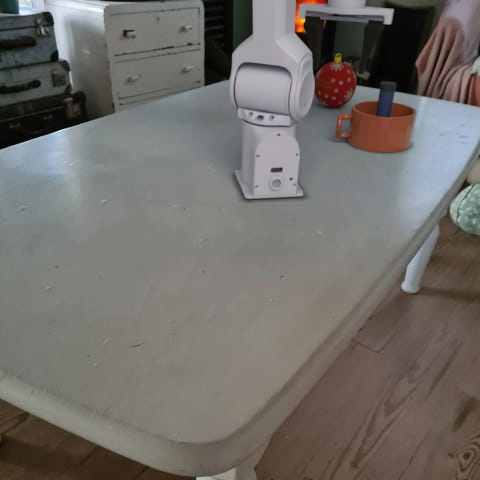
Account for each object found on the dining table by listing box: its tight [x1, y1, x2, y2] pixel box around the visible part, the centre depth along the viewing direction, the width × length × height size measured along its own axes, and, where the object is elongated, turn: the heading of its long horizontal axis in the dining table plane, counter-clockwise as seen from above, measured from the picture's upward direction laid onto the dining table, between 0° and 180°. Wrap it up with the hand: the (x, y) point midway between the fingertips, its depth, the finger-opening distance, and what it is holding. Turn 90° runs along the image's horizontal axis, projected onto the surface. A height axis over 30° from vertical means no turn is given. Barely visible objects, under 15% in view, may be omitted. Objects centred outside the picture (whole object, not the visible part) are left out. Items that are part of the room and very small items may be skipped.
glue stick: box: [376, 80, 397, 117], centre depth 86 cm, size 2×2×9 cm
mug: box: [334, 100, 418, 153], centre depth 87 cm, size 13×10×6 cm
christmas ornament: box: [314, 53, 357, 109], centre depth 104 cm, size 9×9×10 cm
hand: (338, 71), depth 86 cm, fingers open, 7 cm apart
